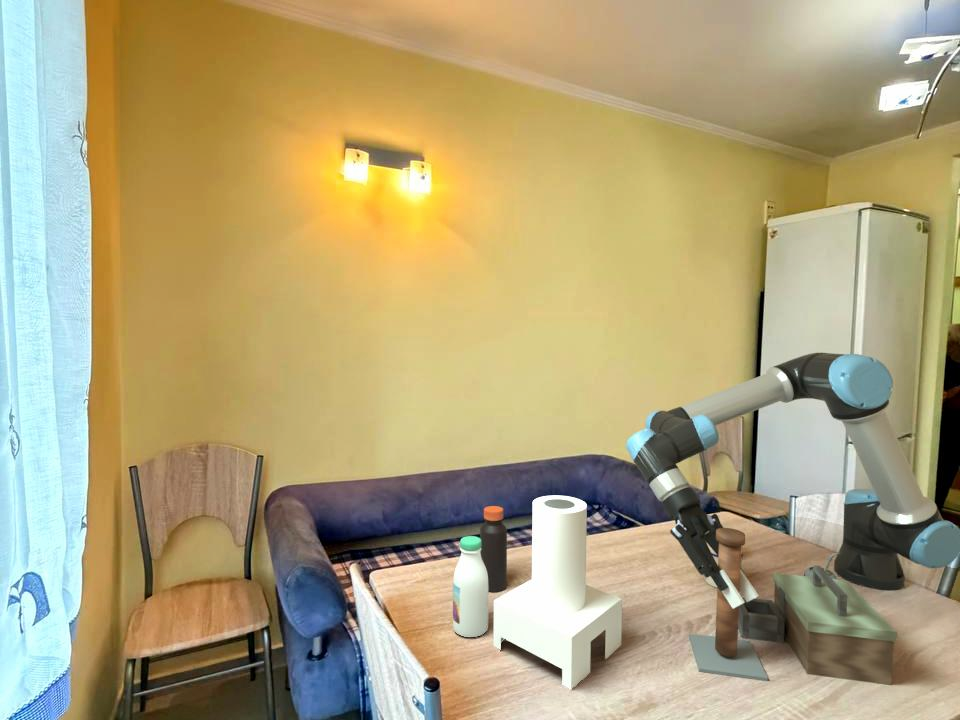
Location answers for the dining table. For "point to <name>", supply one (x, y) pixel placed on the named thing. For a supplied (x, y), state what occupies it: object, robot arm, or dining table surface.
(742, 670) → the rubber mat
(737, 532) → the wooden pepper mill
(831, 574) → the mate gourd
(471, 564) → the milk bottle
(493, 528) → the vinegar
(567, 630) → the paper towel holder
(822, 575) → the toolbox
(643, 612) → the dining table surface
